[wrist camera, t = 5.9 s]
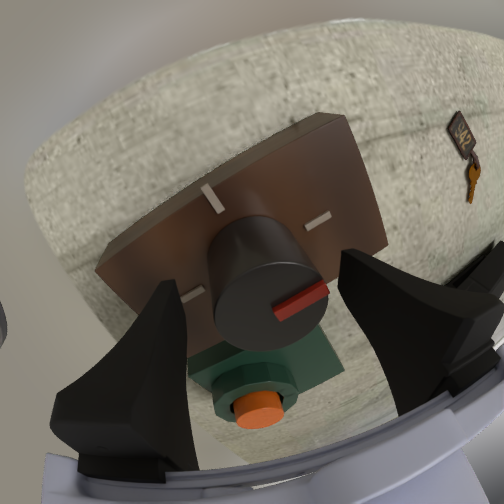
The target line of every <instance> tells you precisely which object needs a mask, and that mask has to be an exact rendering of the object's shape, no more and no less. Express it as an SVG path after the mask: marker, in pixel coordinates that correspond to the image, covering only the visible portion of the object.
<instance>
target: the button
mask: <svg viewBox="0 0 504 504" xmlns="http://www.w3.org/2000/svg"><path fill="white" fill-rule="evenodd" d="M233 408H234V413H235V419H236V423H237V425H238V426H240V427H242V428H246V429H258V428H264V427H267V426H270V425H273V424H275V423H277V422H278V421H280V420H281V419H282V418H283V416H284V411H283V408H282V404H281V401H280V398H279V395H278V394H277V393H276V392H272V391H259V392H252V393H249V394H246V395H244V396H242V397H239V398H237V399H235V400H234V402H233Z"/></svg>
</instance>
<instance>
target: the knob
mask: <svg viewBox="0 0 504 504" xmlns="http://www.w3.org/2000/svg"><path fill="white" fill-rule="evenodd" d="M208 272H209V282H210V292H211V301H212V310H213V319H214V324H215V326H216V329H217V331H218V332H219V334H220V335H221V336H222V337H223V338H224V339H225V340H226V341H227V342H228V343H230V344H232V345H233V346H235V347H238V348H240V349H244V350H248V351H272V350H277V349H280V348H284V347H286V346H289V345H291V344H293V343H295V342H297V341H299V340H301V339H302V338H304V337H305V336H306V335H308V334H309V333H310V332H311V331H312V330H313V329H314V328H315V327H316V326H317V325H318V323H319V322H320V321H321V319H322V317H323V316H324V314H325V311H326V308H327V305H328V294H330V291H329V289H328V287H327V285H326V283H325V281H324V279H323V277H322V276H321V274H320V273H319V271H318V270H317V268H316V267H315V266H314V264H313V263H312V261H311V260H310V258H309V257H308V255H307V254H306V253H305V251H304V250H303V248H302V247H301V245H300V244H299V243H298V241H297V240H296V238H295V237H294V236H293V234H292V233H291V231H290V230H289V229H288V228H287V227H286V226H285V225H283V224H282V223H280V222H279V221H277V220H274V219H272V218H268V217H261V216H253V217H246V218H242V219H239V220H237V221H235V222H233V223H231V224H229V225H228V226H226V227H225V228H224V229H223V230H221V231H220V232H219V234H218V235H217V236H216V237H215V239H214V240H213V242H212V244H211V246H210V249H209V252H208Z"/></svg>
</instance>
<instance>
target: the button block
mask: <svg viewBox="0 0 504 504" xmlns="http://www.w3.org/2000/svg"><path fill="white" fill-rule="evenodd" d="M187 362H188V377H189V378H191V379H192V380H193V381H195V382H196V383H198V384H199V385H201V386H202V387H204V388H205V389H207V390H208V391H210V392H211V393H212V397H213V405H214V410H215V414H216V415H217V416H218V417H220V418H222V419H224V420H226V421H228V422H236V419H235V413H234V408H233V402H234V400H235V399H237V398H239V397H242V396H244V395H246V394H249V393H252V392H259V391H272V392H276V393H277V394H278V395H279V398H280V401H281V404H282V408H283V411H284V412H286V411H287V410H288V409H289V408H290V407H292V406H293V405H294V404H295V403H296V401H297V398H298V394H300V393H303V392H305V391H307V390H309V389H311V388H313V387H315V386H317V385H319V384H321V383H323V382H325V381H327V380H328V379H330V378H332V377H334V376H336V375H338V374H340V373H341V372H343V371H345V369H344V367H343V365H342V363H341V362H340V360H339V358H338V356H337V354H336V352H335V350H334V349H333V347H332V345H331V343H330V342H329V340H328V338H327V336H326V335H325V333H324V331H323V330H322V328H321V326H320V324H319V323H318V325H317V326H316V327H315V328H314V329H313V330H312V331H311V332H310V333H309V334H308V335H306V336H305V337H304V338H302V339H301V340H299V341H297V342H295V343H293V344H291V345H289V346H286V347H284V348H280V349H277V350H272V351H248V350H244V349H240V348H238V347H235V346H233V345H232V344H230V343H228V342H227V341H226V340H224V341H222V342H220V343H218V344H216V345H214V346H212V347H210V348H207V349H205V350H203V351H201V352H199V353H197V354H195V355H193V356H191V357H189V358H187Z"/></svg>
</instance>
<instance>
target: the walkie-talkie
mask: <svg viewBox="0 0 504 504" xmlns="http://www.w3.org/2000/svg"><path fill="white" fill-rule="evenodd" d="M446 287H450V288H454V289H459V290H464V291H470V292H478V293H489V294H494V295H495V296H496V297H497V298H498V299H499V298H500V296H501V295H502V293H503V292H504V242H503V241H500V242H499V243H498V244H497V245H496V246H495V247H494V249H493V250H492V251H491V252H490V253H489V254H488V255H487V257H486V256H485V255H482V256H481V257H479V258H478V259H477V260H476V261H475V262H474V263H473V264H471V265H470V266H469V267H468V268H467V269H466V270H464V271H463V272H462V273H461V274H460V275H458V276H457V277H456V278H455V279H453V280H452V281H451V282H450V283H448V284H447V285H446Z"/></svg>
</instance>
